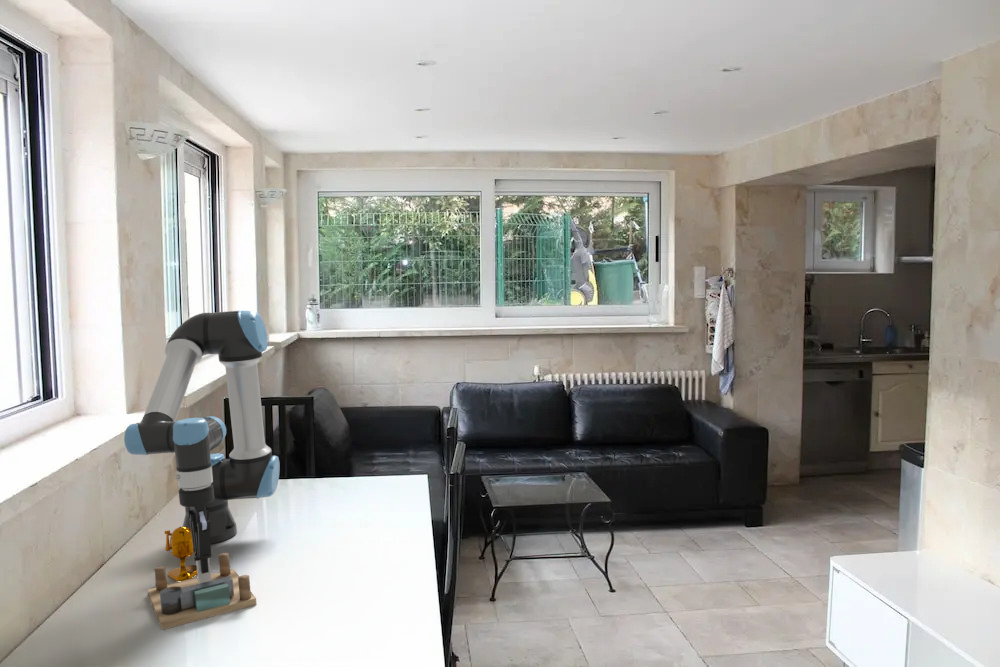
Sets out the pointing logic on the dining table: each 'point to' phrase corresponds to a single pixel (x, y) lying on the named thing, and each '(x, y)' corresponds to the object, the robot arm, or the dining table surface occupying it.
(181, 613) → the board
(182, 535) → the figurine
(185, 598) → the leg
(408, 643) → the dining table surface
